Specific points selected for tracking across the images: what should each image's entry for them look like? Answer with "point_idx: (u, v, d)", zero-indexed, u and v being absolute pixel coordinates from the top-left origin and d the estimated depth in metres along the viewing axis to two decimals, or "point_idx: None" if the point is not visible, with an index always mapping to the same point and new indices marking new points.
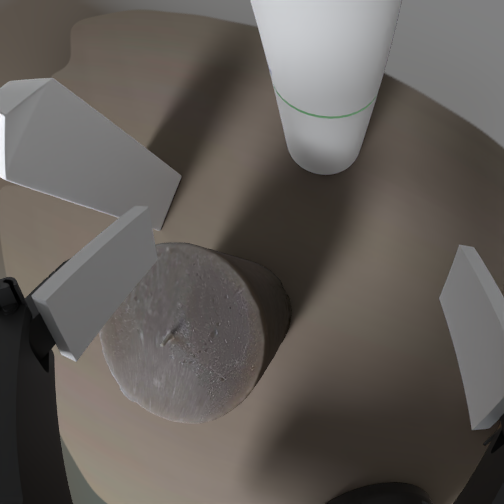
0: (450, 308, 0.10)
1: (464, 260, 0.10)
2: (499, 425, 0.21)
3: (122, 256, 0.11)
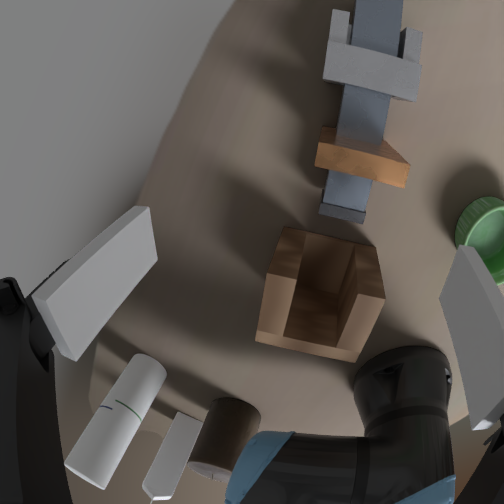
0: (450, 308, 0.10)
1: (464, 260, 0.10)
2: None
3: (122, 256, 0.11)
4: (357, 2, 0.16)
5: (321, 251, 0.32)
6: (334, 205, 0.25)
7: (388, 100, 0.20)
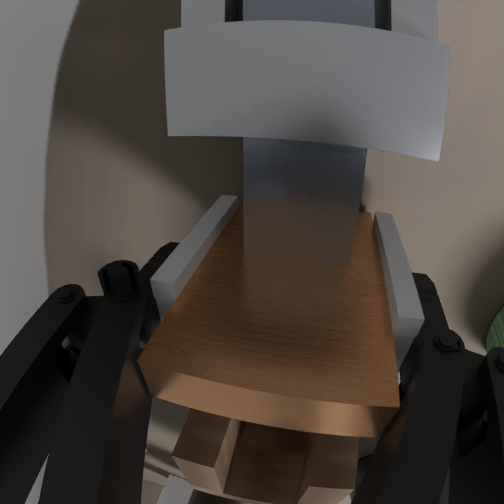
0: None
1: (376, 224, 0.12)
2: None
3: None
4: None
5: None
6: None
7: (362, 154, 0.08)
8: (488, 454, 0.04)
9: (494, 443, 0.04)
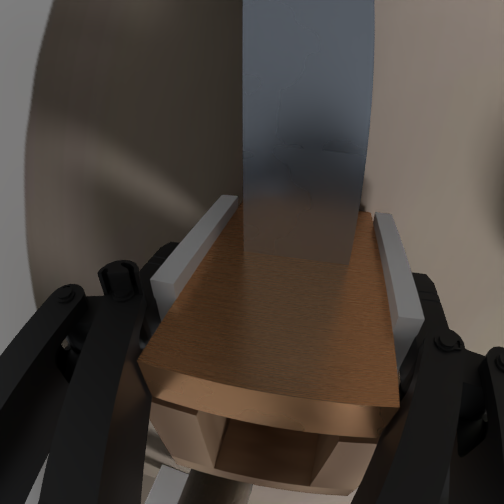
0: None
1: (376, 224, 0.12)
2: None
3: None
4: None
5: None
6: None
7: (362, 154, 0.08)
8: (488, 454, 0.04)
9: (494, 443, 0.04)
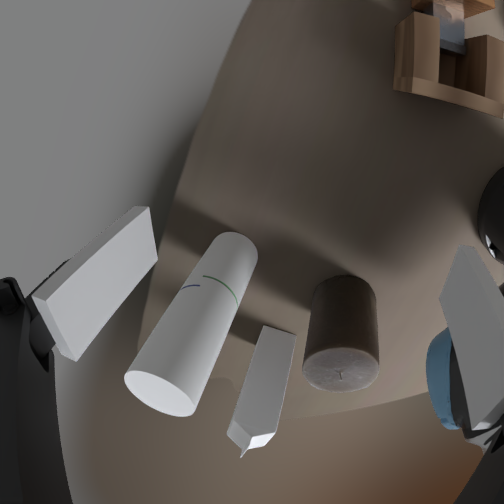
0: (450, 308, 0.10)
1: (464, 260, 0.10)
2: None
3: (122, 256, 0.11)
4: None
5: None
6: (443, 39, 0.21)
7: None
8: None
9: None
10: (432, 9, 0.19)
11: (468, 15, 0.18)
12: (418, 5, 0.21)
